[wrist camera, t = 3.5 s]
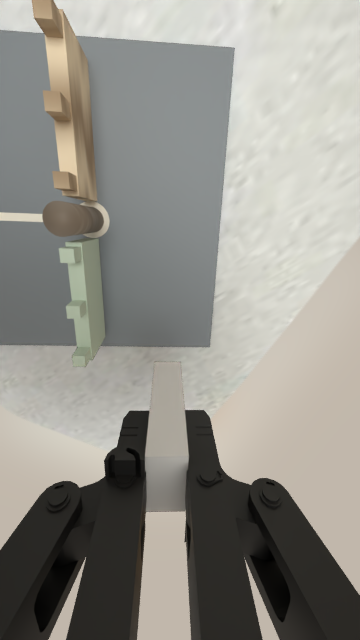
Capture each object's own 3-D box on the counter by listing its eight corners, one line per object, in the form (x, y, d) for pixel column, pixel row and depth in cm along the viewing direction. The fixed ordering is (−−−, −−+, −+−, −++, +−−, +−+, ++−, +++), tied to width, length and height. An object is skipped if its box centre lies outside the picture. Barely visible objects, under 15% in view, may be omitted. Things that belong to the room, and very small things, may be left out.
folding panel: (85, 238, 24) (56, 243, 18) (98, 238, 24) (74, 244, 18) (94, 336, 28) (72, 369, 22) (105, 336, 28) (87, 370, 22)
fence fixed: (104, 232, 25) (78, 237, 17) (81, 231, 25) (45, 236, 17) (94, 60, 20) (53, -30, 13) (65, 58, 20) (7, -34, 13)
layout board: (-9, 342, 29) (-12, 345, 28) (-84, 28, 20) (-91, 22, 19) (208, 345, 30) (209, 347, 29) (233, 51, 21) (234, 46, 20)
